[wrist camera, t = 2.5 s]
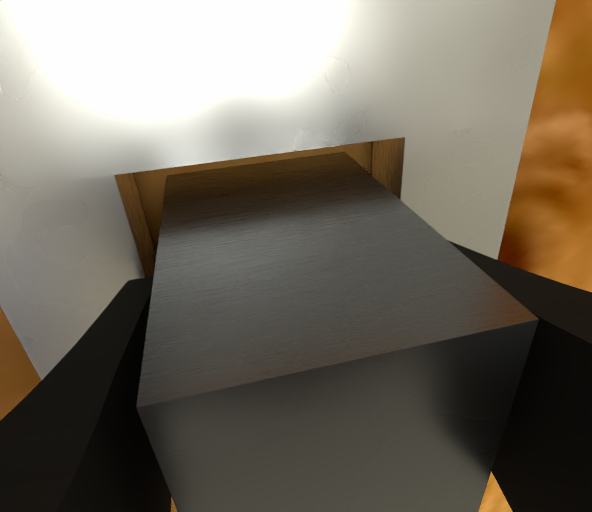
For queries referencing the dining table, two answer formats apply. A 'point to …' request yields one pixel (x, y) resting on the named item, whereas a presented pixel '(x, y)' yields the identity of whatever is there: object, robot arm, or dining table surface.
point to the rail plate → (240, 122)
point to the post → (321, 347)
